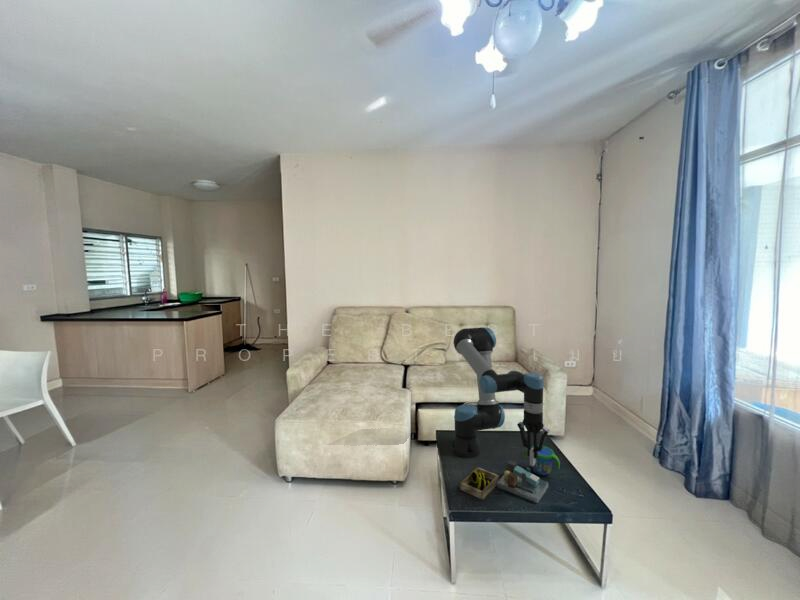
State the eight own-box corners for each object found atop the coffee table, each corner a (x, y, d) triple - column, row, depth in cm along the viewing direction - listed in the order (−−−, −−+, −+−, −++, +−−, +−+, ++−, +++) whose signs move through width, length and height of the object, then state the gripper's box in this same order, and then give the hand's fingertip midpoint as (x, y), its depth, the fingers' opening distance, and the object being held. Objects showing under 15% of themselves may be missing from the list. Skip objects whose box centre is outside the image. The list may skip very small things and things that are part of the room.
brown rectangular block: (507, 484, 139) (507, 475, 139) (510, 480, 141) (510, 471, 141) (514, 486, 137) (514, 477, 137) (517, 483, 139) (517, 474, 139)
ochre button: (503, 478, 144) (503, 472, 143) (505, 475, 146) (505, 469, 146) (509, 480, 142) (509, 475, 141) (512, 477, 144) (512, 472, 144)
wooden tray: (460, 489, 140) (460, 482, 140) (477, 473, 152) (477, 467, 151) (482, 499, 133) (482, 492, 133) (499, 482, 145) (499, 475, 144)
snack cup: (563, 473, 150) (563, 452, 150) (554, 483, 143) (554, 460, 142) (529, 460, 161) (529, 440, 161) (520, 469, 154) (520, 448, 154)
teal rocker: (512, 473, 143) (513, 468, 143) (516, 469, 146) (517, 464, 146) (535, 486, 137) (536, 482, 136) (538, 482, 140) (540, 477, 139)
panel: (497, 486, 141) (496, 471, 141) (510, 472, 152) (509, 458, 152) (537, 503, 130) (537, 486, 130) (548, 486, 141) (548, 471, 140)
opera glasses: (489, 493, 138) (491, 482, 138) (478, 492, 137) (480, 481, 137) (480, 480, 147) (482, 469, 147) (469, 479, 146) (471, 468, 146)
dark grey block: (507, 471, 148) (507, 463, 148) (510, 468, 151) (510, 460, 150) (513, 474, 146) (513, 465, 146) (516, 471, 149) (516, 462, 149)
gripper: (514, 409, 139) (514, 462, 141) (546, 417, 131) (545, 474, 132) (521, 404, 145) (520, 455, 147) (552, 411, 136) (551, 465, 138)
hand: (532, 464), depth 139 cm, fingers closed
